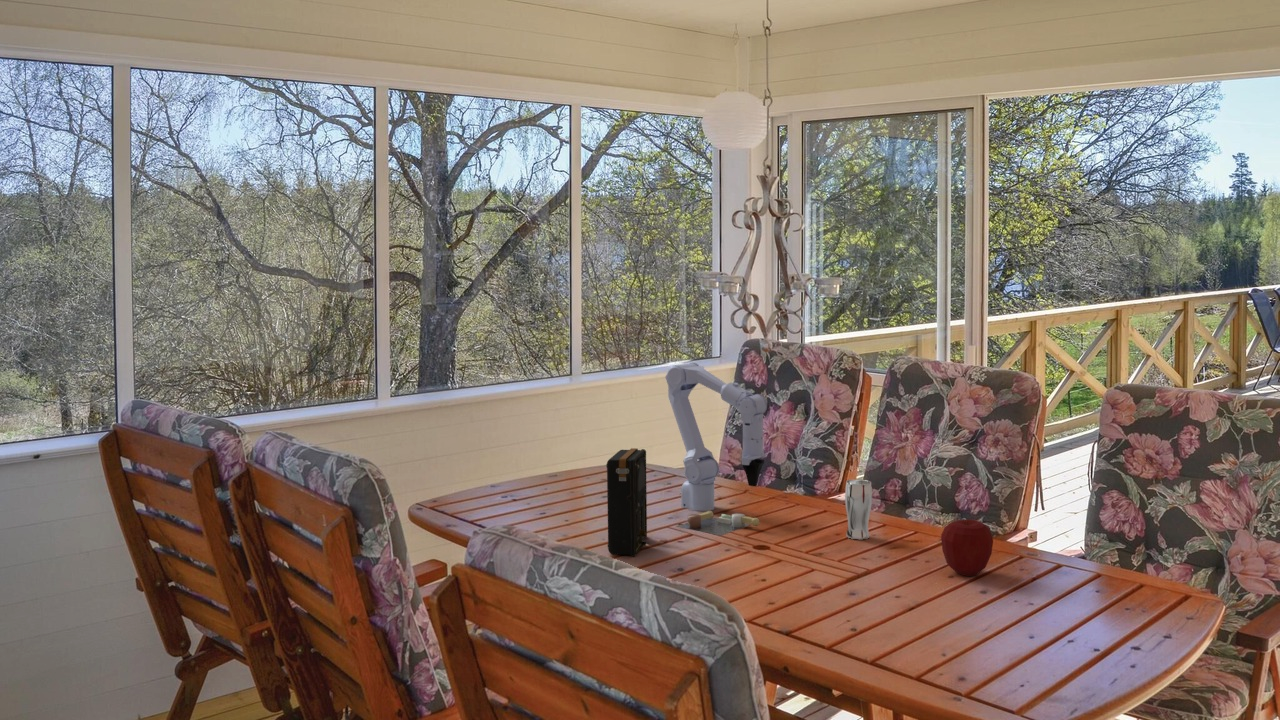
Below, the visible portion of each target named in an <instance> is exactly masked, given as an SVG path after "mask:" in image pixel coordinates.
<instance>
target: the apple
mask: <svg viewBox="0 0 1280 720" xmlns="http://www.w3.org/2000/svg"><path fill="white" fill-rule="evenodd" d="M940 537H941V539H940V540H941V548H942V549H941V550H942V554H943V556H944V558H945V559H944V560H945V563H946V564H947V566H948V567H949V568H951V569H952V570H953V571H954V572H955V573H957V574H959V575H962V576H965V577H966V576H969V577H971V576H977V575H978V574H979V573H980V572H982V571H983V570H985V568H986V567H987V565H988V562H989V560H990V558H991V555H992V554H993V544H994V539H993V535H992V531H991V529H990V528H989V527H988V526H986V524H985V523H984V522H982V521H979V520H976V519H969V517H968V518H967V519H957V520H953V521H951V522H949V523H948V524H947V525H945V526H944V528H943V530H942V533H941V536H940Z"/></svg>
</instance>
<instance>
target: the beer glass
mask: <svg viewBox="0 0 1280 720" xmlns="http://www.w3.org/2000/svg"><path fill="white" fill-rule="evenodd" d="M872 489H873V488H872V481H870V480H868V479H860V478H858V479H857V478H855V479H854V478H853V479H848V480H846V481H845V489H844V491H845V492H844V503H845V504H844V505H845V510H846V518H847V530H846V536H847V537H848V538H847V537H846V538H847V539H849V538H851V539H850V540H853V539H859V540H858V541H864V540H863V539H866V540H869V539H870V537H871V536H870V533H869V519H870V515H871V511H872V510H871V509H872V502H873V491H872ZM868 538H869V539H868Z"/></svg>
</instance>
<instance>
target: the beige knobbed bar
mask: <svg viewBox="0 0 1280 720" xmlns="http://www.w3.org/2000/svg"><path fill="white" fill-rule="evenodd" d="M712 517H713V518H714V513H713V510H709V511H703V512H702V513H701V512H700V513H698V514H697V513H694V514H693V513H692V514H688V515H687V523H688V527H689V528H700V527H701V520H705V519H711V518H712Z"/></svg>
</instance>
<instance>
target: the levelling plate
mask: <svg viewBox="0 0 1280 720" xmlns="http://www.w3.org/2000/svg"><path fill="white" fill-rule="evenodd" d="M748 526H750V524H747V523H745V527H741V528H737V527H732V523H731V524H726V523H721V522H718V517H714V516H713V517H712V518H711V519H705V520H701V527H700V528H689V527H688V522H685V523H683V524H680V525H676V526H675V527H677V528H681V529H686V530H690V531H695V532H701V533H705V534H711V535H714V536H715V535H716V536H719V537H720V536H724V535H726V534H729V533H733V532H735V531H739V530H741V529H743V528H747V527H748Z"/></svg>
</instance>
